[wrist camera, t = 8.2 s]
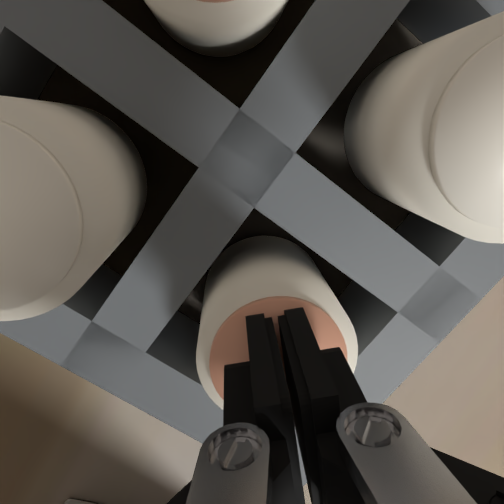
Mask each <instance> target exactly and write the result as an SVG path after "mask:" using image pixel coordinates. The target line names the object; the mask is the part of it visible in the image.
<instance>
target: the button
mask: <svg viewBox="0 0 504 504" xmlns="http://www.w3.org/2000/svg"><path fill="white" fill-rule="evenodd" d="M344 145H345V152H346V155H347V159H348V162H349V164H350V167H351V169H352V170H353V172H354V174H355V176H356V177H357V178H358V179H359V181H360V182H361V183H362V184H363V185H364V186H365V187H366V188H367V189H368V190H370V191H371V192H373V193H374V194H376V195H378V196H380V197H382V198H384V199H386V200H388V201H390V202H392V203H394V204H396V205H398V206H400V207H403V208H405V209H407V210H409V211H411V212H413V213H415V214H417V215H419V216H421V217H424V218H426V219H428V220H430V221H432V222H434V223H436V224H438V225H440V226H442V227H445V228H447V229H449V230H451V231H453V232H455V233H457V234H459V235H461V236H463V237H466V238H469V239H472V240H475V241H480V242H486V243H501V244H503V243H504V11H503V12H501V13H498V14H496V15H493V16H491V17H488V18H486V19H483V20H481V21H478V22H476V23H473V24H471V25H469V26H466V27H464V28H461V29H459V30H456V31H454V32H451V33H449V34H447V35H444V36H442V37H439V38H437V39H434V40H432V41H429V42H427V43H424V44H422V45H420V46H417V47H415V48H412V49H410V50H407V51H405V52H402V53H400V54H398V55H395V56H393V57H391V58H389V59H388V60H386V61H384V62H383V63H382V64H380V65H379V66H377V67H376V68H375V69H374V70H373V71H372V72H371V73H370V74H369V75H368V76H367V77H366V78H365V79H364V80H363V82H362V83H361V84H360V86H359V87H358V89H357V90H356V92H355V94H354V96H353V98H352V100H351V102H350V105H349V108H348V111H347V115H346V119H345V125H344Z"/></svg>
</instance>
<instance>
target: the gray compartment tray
mask: <svg viewBox="0 0 504 504" xmlns="http://www.w3.org/2000/svg"><path fill="white" fill-rule="evenodd" d="M503 11H504V0H315V1H314V2H313V4H312V5H311V7H310V8H309V10H308V11H307V13H306V14H305V15H304V17H303V18H302V20H301V21H300V23H299V24H298V25H297V27H296V28H295V30H294V31H293V33H292V34H291V35H290V37H289V38H288V40H287V41H286V43H285V44H284V45H283V47H282V48H281V50H280V51H279V53H278V54H277V56H276V57H275V58H274V60H273V61H272V63H271V64H270V66H269V67H268V68H267V70H266V71H265V73H264V74H263V76H262V77H261V78H260V80H259V81H258V83H257V84H256V86H255V87H254V88H253V90H252V91H251V93H250V94H249V96H248V97H247V99H246V100H245V101H244V103H243V104H242V106H241V107H240V109H239V108H238V107H237V106H235V105H234V104H233V103H232V102H230V101H229V100H228V99H227V98H225V97H224V96H223V95H221V94H220V93H219V92H218V91H216V90H215V89H214V88H213V87H211V86H210V85H209V84H208V83H206V82H205V81H204V80H202V79H201V78H200V77H199V76H197V75H196V74H195V73H194V72H192V71H191V70H190V69H188V68H187V67H186V66H185V65H183V64H182V63H181V62H180V61H178V60H177V59H176V58H175V57H173V56H172V55H171V54H169V53H168V52H167V51H166V50H164V49H163V48H162V47H161V46H159V45H158V44H157V43H155V42H154V41H153V40H152V39H150V38H149V37H148V36H147V35H145V34H144V33H143V32H142V31H140V30H139V29H138V28H136V27H135V26H134V25H133V24H131V23H130V22H129V21H128V20H126V19H125V18H124V17H123V16H121V15H120V14H119V13H117V12H116V11H115V10H114V9H112V8H111V7H110V6H109V5H107V4H106V3H105V2H103V1H102V0H0V95H1V96H9V97H17V98H25V99H33V100H37V99H38V97H39V96H40V94H41V92H42V90H43V89H44V87H45V85H46V83H47V82H48V80H49V78H50V76H51V75H52V73H53V71H54V69H55V68H56V66H57V65H59V66H60V67H61V68H63V69H64V70H66V71H67V72H68V73H70V74H71V75H72V76H74V77H75V78H77V79H78V80H79V81H81V82H82V83H83V84H85V85H86V86H88V87H89V88H90V89H92V90H93V91H94V92H96V93H97V94H99V95H100V96H101V97H103V98H104V99H105V100H107V101H108V102H109V103H111V104H112V105H114V106H115V107H116V108H118V109H119V110H120V111H122V112H123V113H125V114H126V115H127V116H129V117H130V118H131V119H133V120H134V121H136V122H137V123H138V124H140V125H141V126H142V127H144V128H145V129H147V130H148V131H149V132H151V133H152V134H153V135H155V136H156V137H158V138H159V139H160V140H162V141H163V142H164V143H166V144H167V145H169V146H170V147H171V148H173V149H174V150H175V151H177V152H178V153H180V154H181V155H182V156H184V157H185V158H186V159H188V160H189V161H191V162H192V163H193V164H195V165H196V166H197V167H198V169H197V170H196V172H195V173H194V175H193V176H192V177H191V179H190V180H189V182H188V183H187V185H186V186H185V187H184V189H183V190H182V192H181V193H180V195H179V196H178V197H177V199H176V200H175V202H174V203H173V205H172V206H171V207H170V209H169V210H168V212H167V213H166V215H165V216H164V218H163V219H162V220H161V222H160V223H159V225H158V226H157V228H156V229H155V230H154V232H153V233H152V235H151V236H150V238H149V239H148V240H147V242H146V243H145V245H144V246H143V248H142V249H141V251H140V252H139V253H138V255H137V256H136V258H135V259H134V261H133V262H132V263H131V265H130V266H129V268H128V269H127V271H126V272H125V273H124V275H123V276H121V275H119V274H118V273H116V272H115V271H113V270H111V269H110V268H108V267H107V266H105V265H103V264H102V265H101V266H100V267H99V268H98V269H97V270H96V271H95V272H94V274H93V275H92V276H91V277H90V278H89V279H88V280H87V281H86V283H85V284H84V285H83V286H82V287H81V288H80V289H79V290H78V291H77V292H76V293H75V294H74V295H73V296H72V297H71V298H70V299H68V300H67V301H65V302H64V303H63V304H61V305H60V306H58V307H56V308H54V309H52V310H50V311H48V312H46V313H44V314H41V315H38V316H35V317H31V318H27V319H22V320H13V321H0V333H1V334H3V335H5V336H7V337H9V338H10V339H12V340H14V341H16V342H18V343H20V344H21V345H23V346H25V347H27V348H29V349H31V350H32V351H34V352H36V353H38V354H40V355H42V356H43V357H45V358H47V359H49V360H51V361H53V362H54V363H56V364H58V365H60V366H62V367H64V368H65V369H67V370H69V371H71V372H73V373H74V374H76V375H78V376H80V377H82V378H84V379H85V380H87V381H89V382H91V383H93V384H95V385H96V386H98V387H100V388H102V389H104V390H106V391H107V392H109V393H111V394H113V395H115V396H117V397H118V398H120V399H122V400H124V401H126V402H128V403H129V404H131V405H133V406H135V407H137V408H139V409H140V410H142V411H144V412H146V413H148V414H150V415H151V416H153V417H155V418H157V419H159V420H161V421H162V422H164V423H166V424H168V425H170V426H171V427H173V428H175V429H177V430H179V431H181V432H182V433H184V434H186V435H188V436H190V437H192V438H193V439H195V440H197V441H199V442H201V443H203V442H204V441H205V440H206V438H207V437H208V436H209V435H210V434H211V433H212V432H214V431H215V430H217V429H218V428H220V427H223V410H222V409H221V408H220V407H219V406H218V405H216V404H215V403H214V402H213V400H212V399H211V398H210V397H209V396H208V394H207V393H206V391H205V390H204V388H203V386H202V384H201V381H200V379H199V375H198V372H197V366H196V350H197V342H198V335H199V328H200V324H198V323H196V322H195V321H193V320H192V319H190V318H188V317H187V316H185V315H184V314H182V313H180V312H179V311H177V310H178V308H179V307H180V306H181V304H182V303H183V302H184V300H185V299H186V298H187V296H188V295H189V294H190V292H191V291H192V290H193V288H194V287H195V286H196V284H197V283H198V282H199V280H200V279H201V278H202V276H203V275H204V274H205V272H206V271H207V270H208V268H209V267H210V266H211V264H212V263H213V262H214V260H215V259H216V258H217V256H218V255H219V254H220V252H221V251H222V250H223V248H224V247H225V246H226V244H227V243H228V242H229V241H230V239H231V238H232V237H233V235H234V234H235V233H236V231H237V230H238V229H239V227H240V226H241V225H242V223H243V222H244V221H245V219H246V218H247V217H248V215H249V214H250V213H251V211H252V210H253V209H254V208H255V209H256V210H258V211H259V212H261V213H262V214H263V215H265V216H266V217H267V218H269V219H270V220H272V221H273V222H274V223H276V224H277V225H278V226H280V227H281V228H283V229H284V230H285V231H287V232H288V233H289V234H291V235H292V236H294V237H295V238H296V239H298V240H299V241H300V242H302V243H303V244H305V245H306V246H307V247H309V248H310V249H311V250H313V251H314V252H316V253H317V254H318V255H320V256H321V257H322V258H324V259H325V260H327V261H328V262H329V263H331V264H332V265H333V266H335V267H336V268H338V269H339V270H340V271H342V272H343V273H344V274H346V275H347V276H348V277H350V278H351V279H353V281H352V282H351V283H350V284H349V285H348V286H347V288H346V289H345V290H344V291H343V292H342V293H341V295H340V296H339V297H338V298H337V300H338V301H339V303H340V304H341V306H342V308H343V309H344V311H345V312H346V314H347V316H348V317H349V319H350V321H351V323H352V325H353V327H354V330H355V333H356V336H357V343H358V358H357V364H356V368H355V371H354V376H355V378H356V380H357V382H358V384H359V386H360V388H361V390H362V392H363V394H364V396H365V398H366V400H367V402H371V403H380V404H382V403H383V402H384V401H385V400H386V399H387V398H388V397H389V396H390V395H391V394H392V393H393V392H394V391H395V389H396V388H397V387H398V386H399V385H400V384H401V383H402V382H403V381H404V380H405V379H406V378H407V377H408V376H409V375H410V374H411V373H412V372H413V371H414V370H415V368H416V367H417V366H418V365H419V364H420V363H421V362H422V361H423V360H424V359H425V358H426V357H427V356H428V355H429V354H430V353H431V352H432V351H433V350H434V349H435V347H436V346H437V345H438V344H439V343H440V342H441V341H442V340H443V339H444V338H445V337H446V336H447V335H448V334H449V333H450V332H451V331H452V330H453V329H454V328H455V326H456V325H457V324H458V323H459V322H460V321H461V320H462V319H463V318H464V317H465V316H466V315H467V314H468V313H469V312H470V311H471V310H472V309H473V308H474V306H475V305H476V304H477V303H478V302H479V301H480V300H481V299H482V298H483V297H484V296H485V295H486V294H487V293H488V292H489V291H490V290H491V289H492V288H493V287H494V285H495V284H496V283H497V282H498V281H499V280H500V279H501V278H502V277H503V276H504V243H503V244H501V243H486V242H480V241H475V240H472V239H469V238H466V237H463V236H461V235H459V234H457V233H455V232H453V231H451V230H449V229H447V228H445V227H442V226H440V225H438V224H436V223H434V222H432V221H430V220H428V219H426V218H424V217H421V216H419V215H417V214H415V213H413V212H411V213H410V214H409V215H408V216H407V217H406V218H405V220H404V221H403V222H402V223H401V224H400V225H399V227H398V228H397V229H396V230H395V231H394V230H393V229H391V228H390V227H389V226H388V225H386V224H385V223H384V222H383V221H381V220H380V219H379V218H377V217H376V216H375V215H374V214H372V213H371V212H370V211H369V210H367V209H366V208H365V207H364V206H362V205H361V204H360V203H358V202H357V201H356V200H355V199H353V198H352V197H351V196H350V195H348V194H347V193H346V192H345V191H343V190H342V189H341V188H339V187H338V186H337V185H336V184H334V183H333V182H332V181H331V180H329V179H328V178H327V177H325V176H324V175H323V174H322V173H320V172H319V171H318V170H317V169H315V168H314V167H313V166H312V165H310V164H309V163H308V162H306V161H305V160H304V159H303V158H301V157H300V156H299V155H298V154H296V151H297V150H298V149H299V147H300V146H301V145H302V143H303V142H304V141H305V139H306V138H307V137H308V135H309V134H310V133H311V131H312V130H313V129H314V127H315V126H316V125H317V123H318V122H319V121H320V119H321V118H322V117H323V115H324V114H325V113H326V111H327V110H328V109H329V107H330V106H331V105H332V103H333V102H334V101H335V99H336V98H337V97H338V95H339V94H340V93H341V91H342V90H343V89H344V87H345V86H346V85H347V83H348V82H349V81H350V79H351V78H352V77H353V75H354V74H355V73H356V71H357V70H358V69H359V67H360V66H361V65H362V63H363V62H364V61H365V59H366V58H367V57H368V55H369V54H370V53H371V51H372V50H373V49H374V47H375V46H376V45H377V43H378V42H379V41H380V39H381V38H382V37H383V35H384V34H385V33H386V31H387V30H388V29H389V27H390V26H391V25H392V23H393V22H394V21H395V19H396V18H397V19H398V20H399V21H400V22H401V23H402V24H403V25H404V26H405V27H406V28H408V29H409V30H410V31H411V32H412V33H413V34H414V35H415V36H416V37H417V38H418V39H419V40H420V41H421V42H422V43H423V44H424V43H427V42H429V41H432V40H434V39H437V38H439V37H442V36H444V35H447V34H449V33H451V32H454V31H456V30H459V29H461V28H464V27H466V26H469V25H471V24H473V23H476V22H478V21H481V20H483V19H486V18H488V17H491V16H493V15H496V14H498V13H501V12H503ZM294 426H295V425H294ZM295 433H296V430H295ZM296 440H297V448H298V455H299V462H300V470H301V477H302V484H303V486H304V485H305V484H306V483H307V480H306V475H305V471H304V466H303V461H302V457H301V452H300V448H299V443H298V439H297V434H296Z"/></svg>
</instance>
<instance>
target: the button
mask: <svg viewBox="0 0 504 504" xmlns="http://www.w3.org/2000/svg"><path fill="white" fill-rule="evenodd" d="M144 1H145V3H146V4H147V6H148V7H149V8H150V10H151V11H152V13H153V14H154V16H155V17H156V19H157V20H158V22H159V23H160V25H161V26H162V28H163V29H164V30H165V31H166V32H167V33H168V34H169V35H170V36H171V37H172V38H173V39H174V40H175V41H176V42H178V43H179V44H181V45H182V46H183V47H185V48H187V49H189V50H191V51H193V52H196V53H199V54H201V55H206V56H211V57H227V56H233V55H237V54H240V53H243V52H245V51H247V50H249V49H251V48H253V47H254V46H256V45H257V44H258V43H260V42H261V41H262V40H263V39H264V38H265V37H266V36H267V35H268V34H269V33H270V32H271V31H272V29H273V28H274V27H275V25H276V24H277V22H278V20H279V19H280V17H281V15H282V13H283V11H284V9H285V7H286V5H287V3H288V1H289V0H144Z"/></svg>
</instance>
